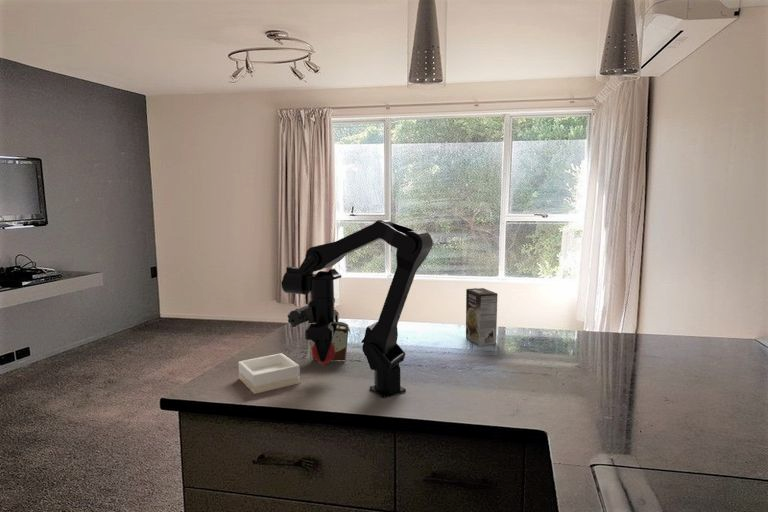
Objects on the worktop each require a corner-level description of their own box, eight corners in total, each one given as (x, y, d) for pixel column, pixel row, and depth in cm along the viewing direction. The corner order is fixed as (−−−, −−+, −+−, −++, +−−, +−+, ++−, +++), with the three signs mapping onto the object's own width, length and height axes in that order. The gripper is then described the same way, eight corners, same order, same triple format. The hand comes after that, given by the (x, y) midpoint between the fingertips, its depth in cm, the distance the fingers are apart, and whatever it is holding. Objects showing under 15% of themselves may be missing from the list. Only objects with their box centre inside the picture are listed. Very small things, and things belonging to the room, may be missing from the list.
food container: (354, 354, 142) (353, 321, 141) (350, 361, 136) (350, 326, 134) (312, 353, 143) (311, 320, 142) (307, 360, 137) (306, 325, 136)
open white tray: (300, 383, 120) (299, 365, 120) (254, 393, 114) (253, 375, 114) (282, 369, 130) (281, 353, 130) (239, 378, 124) (238, 361, 123)
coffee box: (464, 337, 157) (465, 288, 155) (482, 336, 159) (483, 287, 157) (478, 346, 148) (479, 294, 146) (497, 344, 150) (498, 292, 148)
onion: (339, 362, 124) (338, 331, 123) (330, 370, 119) (329, 338, 118) (318, 360, 126) (317, 330, 125) (308, 368, 120) (307, 336, 119)
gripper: (296, 289, 129) (298, 346, 131) (282, 304, 111) (284, 370, 113) (338, 288, 129) (339, 345, 131) (330, 304, 111) (332, 370, 113)
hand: (324, 357), depth 122 cm, fingers closed on onion, 6 cm apart
